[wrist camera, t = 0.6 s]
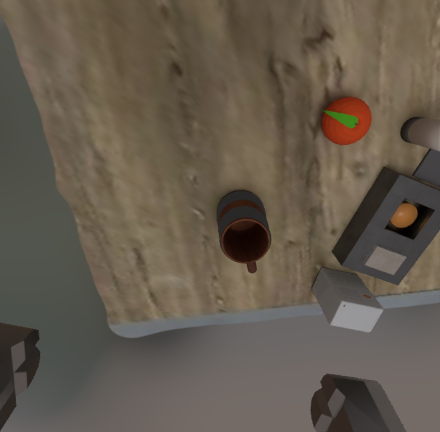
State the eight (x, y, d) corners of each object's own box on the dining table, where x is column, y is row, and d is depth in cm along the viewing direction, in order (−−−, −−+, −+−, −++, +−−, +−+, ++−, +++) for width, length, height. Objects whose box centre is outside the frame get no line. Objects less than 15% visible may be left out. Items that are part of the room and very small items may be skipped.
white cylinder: (410, 113, 47) (468, 120, 36) (430, 122, 48) (493, 132, 37) (395, 137, 49) (447, 151, 38) (415, 145, 50) (472, 162, 39)
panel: (383, 166, 51) (403, 176, 45) (441, 190, 53) (466, 202, 47) (331, 251, 58) (343, 268, 52) (384, 269, 59) (401, 288, 54)
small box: (310, 288, 61) (328, 325, 51) (321, 265, 59) (341, 300, 49) (346, 295, 62) (370, 334, 52) (358, 274, 60) (385, 309, 50)
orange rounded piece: (396, 197, 51) (401, 200, 50) (417, 206, 52) (422, 209, 50) (381, 219, 53) (386, 222, 51) (402, 227, 53) (407, 230, 52)
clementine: (302, 129, 48) (315, 136, 42) (323, 86, 46) (340, 86, 39) (345, 147, 50) (364, 156, 43) (367, 106, 47) (391, 108, 40)
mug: (226, 251, 57) (228, 289, 47) (211, 195, 53) (210, 222, 42) (270, 242, 57) (282, 278, 46) (259, 184, 52) (269, 209, 41)
